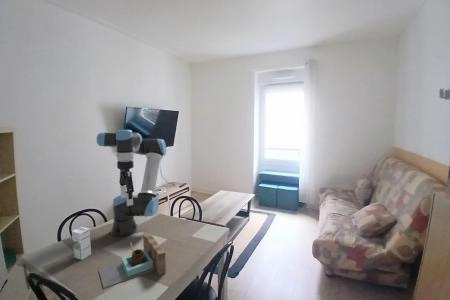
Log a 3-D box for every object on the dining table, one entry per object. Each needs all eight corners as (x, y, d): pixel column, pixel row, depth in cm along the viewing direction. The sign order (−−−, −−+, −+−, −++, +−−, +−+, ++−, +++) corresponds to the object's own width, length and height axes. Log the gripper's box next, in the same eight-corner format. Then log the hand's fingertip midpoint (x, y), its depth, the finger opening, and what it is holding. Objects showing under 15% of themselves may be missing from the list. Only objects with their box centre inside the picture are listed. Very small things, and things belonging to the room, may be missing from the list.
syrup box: (91, 254, 119) (90, 227, 118) (81, 260, 114) (79, 233, 112) (83, 252, 121) (82, 226, 120) (73, 258, 116) (71, 231, 114)
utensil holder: (142, 269, 107) (142, 245, 106) (129, 269, 107) (128, 245, 105) (146, 261, 113) (145, 238, 112) (133, 262, 113) (132, 239, 111)
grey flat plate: (98, 270, 106) (98, 270, 106) (146, 255, 119) (146, 254, 119) (103, 288, 95) (103, 287, 95) (155, 269, 108) (155, 268, 108)
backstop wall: (143, 251, 123) (143, 233, 122) (149, 249, 125) (148, 232, 124) (159, 275, 104) (158, 254, 103) (165, 272, 106) (165, 252, 104)
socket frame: (121, 263, 111) (121, 258, 111) (146, 256, 118) (145, 250, 117) (127, 277, 102) (127, 270, 101) (153, 267, 108) (153, 261, 108)
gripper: (112, 157, 123) (114, 196, 125) (122, 165, 102) (124, 210, 105) (127, 156, 127) (128, 193, 129) (140, 163, 107) (141, 207, 109)
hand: (126, 201), depth 117 cm, fingers open, 13 cm apart
